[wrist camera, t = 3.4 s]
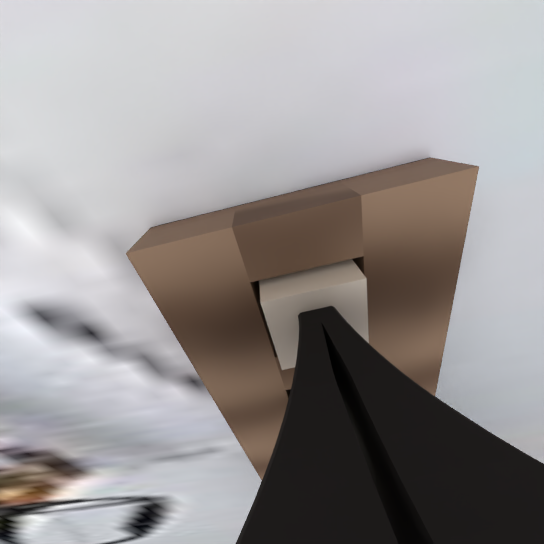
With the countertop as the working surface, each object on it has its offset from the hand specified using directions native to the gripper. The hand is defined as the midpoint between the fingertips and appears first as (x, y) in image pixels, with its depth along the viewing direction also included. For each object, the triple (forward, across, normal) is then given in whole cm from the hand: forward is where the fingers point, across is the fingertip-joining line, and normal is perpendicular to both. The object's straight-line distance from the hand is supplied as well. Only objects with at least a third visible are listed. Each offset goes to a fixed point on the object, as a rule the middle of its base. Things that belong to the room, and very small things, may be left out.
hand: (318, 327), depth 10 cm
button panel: (+3, 0, +7) cm, 8 cm away
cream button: (+3, 0, 0) cm, 3 cm away
